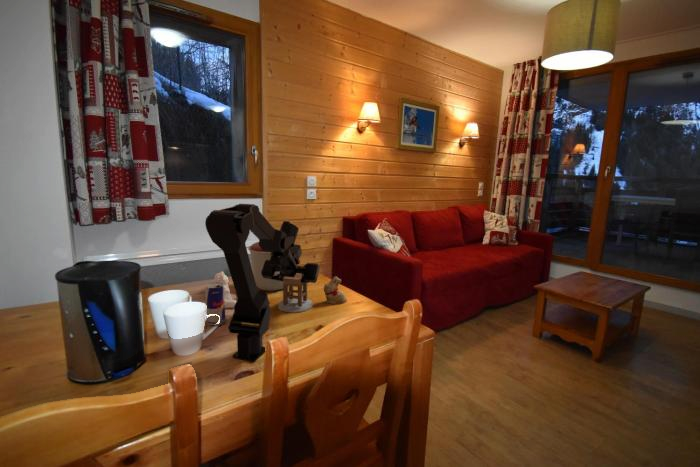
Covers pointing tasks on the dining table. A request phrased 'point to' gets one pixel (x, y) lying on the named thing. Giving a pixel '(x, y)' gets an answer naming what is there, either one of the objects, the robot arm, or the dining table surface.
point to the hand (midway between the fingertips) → (296, 282)
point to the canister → (257, 264)
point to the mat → (295, 306)
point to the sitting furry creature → (226, 290)
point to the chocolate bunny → (334, 292)
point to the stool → (289, 294)
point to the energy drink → (215, 302)
